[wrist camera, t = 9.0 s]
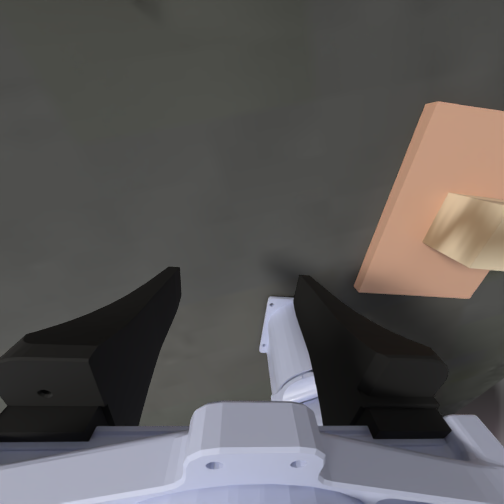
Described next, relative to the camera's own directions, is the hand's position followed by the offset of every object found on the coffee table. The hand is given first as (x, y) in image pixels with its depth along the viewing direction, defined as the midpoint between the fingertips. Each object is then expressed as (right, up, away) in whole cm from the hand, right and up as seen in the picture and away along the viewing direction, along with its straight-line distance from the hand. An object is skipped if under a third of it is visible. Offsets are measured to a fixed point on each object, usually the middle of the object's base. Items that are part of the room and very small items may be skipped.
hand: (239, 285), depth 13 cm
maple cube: (+21, +5, +8) cm, 23 cm away
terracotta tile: (+21, +5, +9) cm, 23 cm away
